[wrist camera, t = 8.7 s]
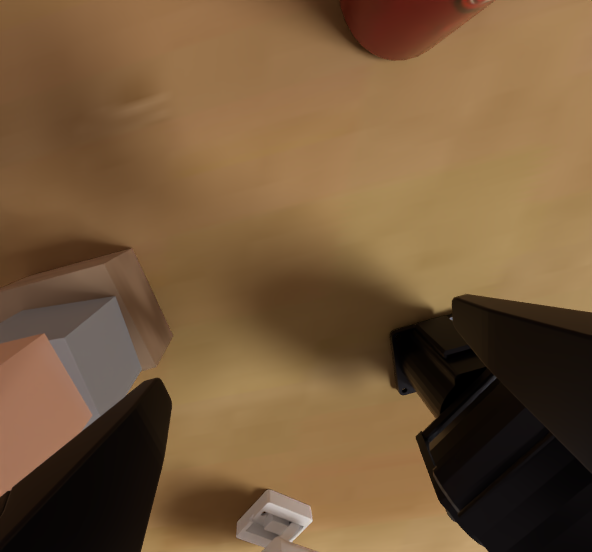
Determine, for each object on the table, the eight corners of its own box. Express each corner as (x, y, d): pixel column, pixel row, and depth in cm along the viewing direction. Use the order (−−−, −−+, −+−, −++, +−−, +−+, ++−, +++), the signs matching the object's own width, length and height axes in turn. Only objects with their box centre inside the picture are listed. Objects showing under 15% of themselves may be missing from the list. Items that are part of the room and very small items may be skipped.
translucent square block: (174, 334, 22) (156, 366, 18) (83, 360, 22) (45, 398, 18) (134, 247, 19) (104, 263, 16) (31, 274, 19) (-25, 298, 15)
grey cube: (142, 369, 18) (105, 428, 14) (58, 383, 18) (-6, 448, 13) (115, 295, 16) (64, 337, 12) (22, 310, 16) (-64, 358, 12)
